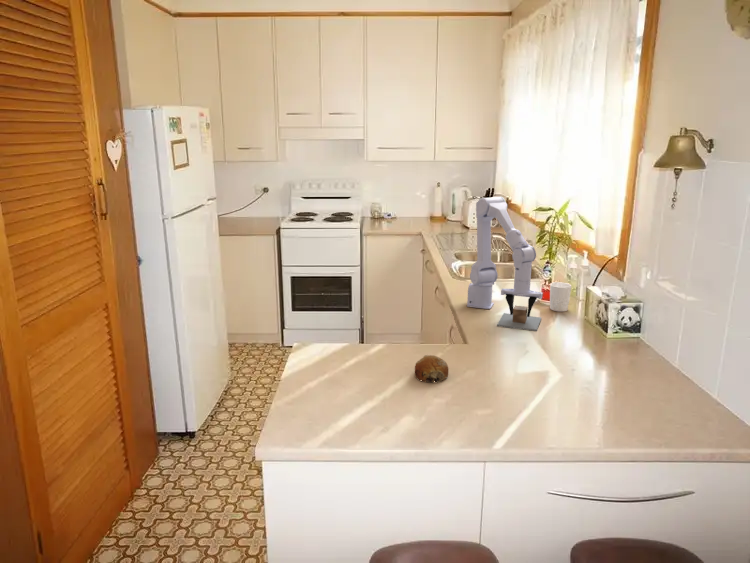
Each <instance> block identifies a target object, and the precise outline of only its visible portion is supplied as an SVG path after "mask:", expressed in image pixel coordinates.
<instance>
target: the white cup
mask: <svg viewBox="0 0 750 563" xmlns="http://www.w3.org/2000/svg"><path fill="white" fill-rule="evenodd" d="M549 287H550V288H549V309H550V310H551V311H555V312H566V311H568V309H569V304H570V298H571V291H572V284H570V283H568V282H561V281H560V282H559V281H556V282H555V281H554V282H550V285H549Z"/></svg>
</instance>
